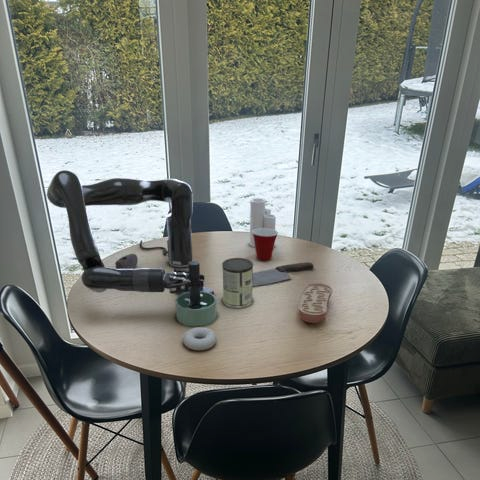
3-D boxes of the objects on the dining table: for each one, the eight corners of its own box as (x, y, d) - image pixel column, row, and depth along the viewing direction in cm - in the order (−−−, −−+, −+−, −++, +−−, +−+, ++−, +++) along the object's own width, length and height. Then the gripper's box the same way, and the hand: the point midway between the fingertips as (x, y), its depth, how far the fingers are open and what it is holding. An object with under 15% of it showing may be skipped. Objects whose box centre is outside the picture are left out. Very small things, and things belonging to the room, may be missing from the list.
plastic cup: (280, 256, 199) (282, 228, 193) (271, 265, 191) (272, 237, 185) (257, 251, 203) (258, 224, 197) (247, 260, 194) (247, 232, 188)
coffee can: (228, 292, 169) (228, 255, 162) (256, 297, 166) (257, 259, 159) (218, 305, 161) (217, 267, 154) (246, 310, 158) (247, 271, 151)
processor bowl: (168, 316, 154) (167, 299, 151) (198, 303, 162) (197, 287, 159) (194, 330, 146) (193, 314, 143) (224, 316, 154) (224, 300, 151)
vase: (248, 246, 208) (248, 201, 198) (251, 240, 214) (252, 197, 204) (273, 248, 206) (275, 203, 196) (276, 243, 212) (278, 198, 202)
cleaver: (307, 264, 191) (307, 259, 190) (320, 273, 184) (321, 268, 183) (241, 278, 180) (241, 273, 179) (253, 288, 173) (253, 283, 172)
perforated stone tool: (131, 264, 191) (129, 248, 187) (143, 265, 190) (141, 249, 186) (112, 279, 178) (110, 262, 175) (125, 281, 177) (123, 263, 174)
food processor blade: (178, 308, 151) (175, 265, 143) (190, 298, 157) (189, 256, 149) (200, 313, 148) (199, 269, 140) (212, 303, 154) (211, 260, 147)
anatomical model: (324, 330, 147) (325, 316, 145) (292, 325, 149) (293, 311, 147) (332, 297, 166) (333, 285, 164) (304, 294, 168) (305, 281, 166)
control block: (174, 292, 169) (173, 283, 168) (192, 284, 175) (191, 276, 173) (195, 303, 162) (195, 294, 160) (214, 295, 167) (213, 286, 166)
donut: (215, 334, 145) (183, 334, 144) (215, 324, 143) (182, 325, 142) (217, 352, 136) (182, 353, 136) (217, 342, 135) (182, 343, 134)
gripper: (153, 281, 156) (205, 281, 156) (146, 301, 143) (202, 301, 144) (151, 260, 152) (204, 260, 152) (144, 278, 140) (202, 279, 140)
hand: (203, 280), depth 148 cm, fingers closed on food processor blade, 3 cm apart
